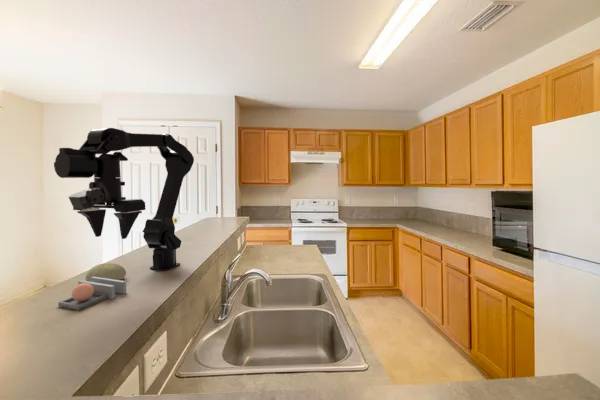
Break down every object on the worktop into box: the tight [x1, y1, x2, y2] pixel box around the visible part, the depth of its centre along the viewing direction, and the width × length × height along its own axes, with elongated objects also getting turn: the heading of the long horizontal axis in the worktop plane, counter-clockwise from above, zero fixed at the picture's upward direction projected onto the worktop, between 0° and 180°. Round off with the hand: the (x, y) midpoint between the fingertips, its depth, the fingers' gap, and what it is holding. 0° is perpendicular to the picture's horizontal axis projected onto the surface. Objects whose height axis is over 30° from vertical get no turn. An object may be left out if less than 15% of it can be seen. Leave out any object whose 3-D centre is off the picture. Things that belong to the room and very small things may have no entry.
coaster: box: [58, 292, 108, 312], centre depth 65 cm, size 6×6×1 cm
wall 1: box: [78, 280, 116, 300], centre depth 69 cm, size 1×11×3 cm, turn 72°
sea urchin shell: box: [85, 262, 127, 282], centre depth 79 cm, size 9×8×8 cm
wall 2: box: [91, 277, 127, 295], centre depth 72 cm, size 1×11×3 cm, turn 72°
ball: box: [71, 283, 94, 302], centre depth 65 cm, size 4×4×4 cm
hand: (110, 237), depth 74 cm, fingers open, 9 cm apart
